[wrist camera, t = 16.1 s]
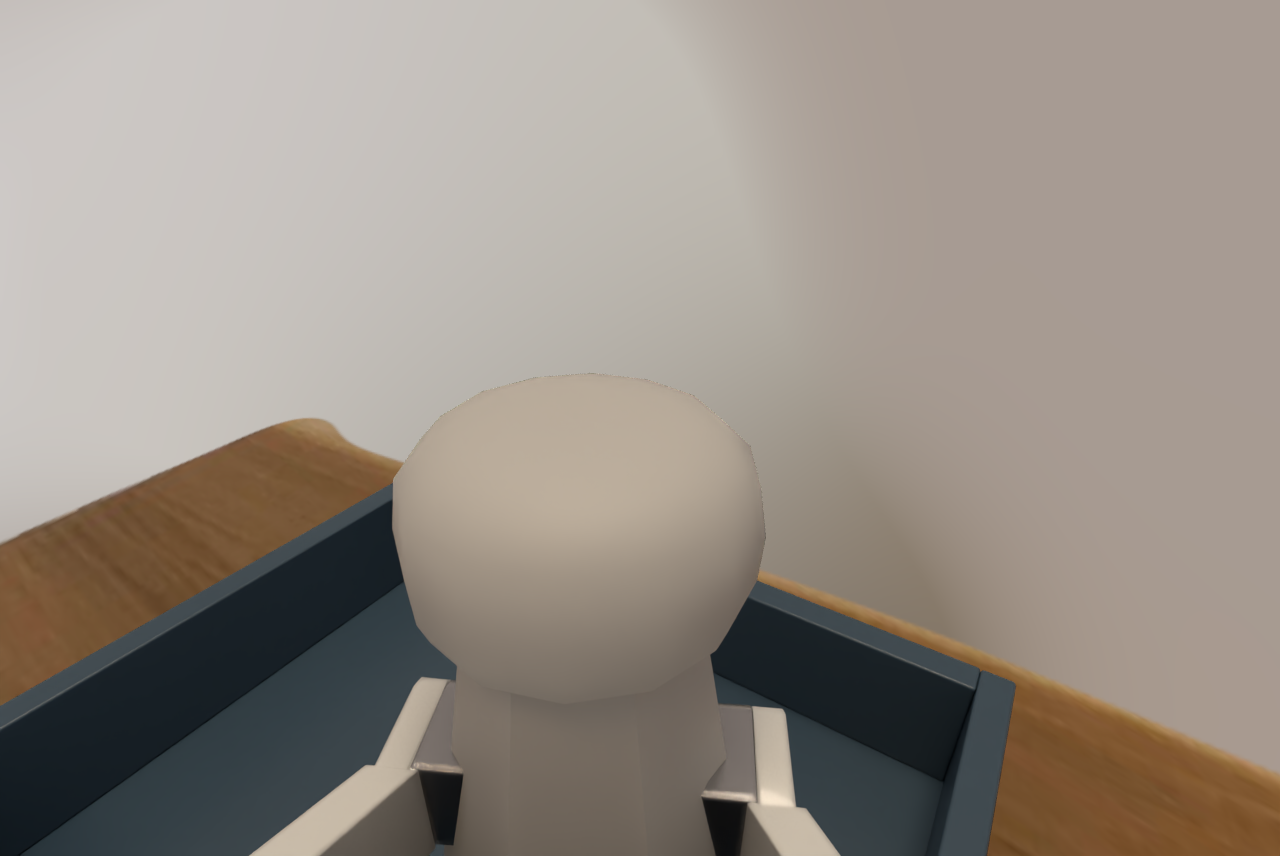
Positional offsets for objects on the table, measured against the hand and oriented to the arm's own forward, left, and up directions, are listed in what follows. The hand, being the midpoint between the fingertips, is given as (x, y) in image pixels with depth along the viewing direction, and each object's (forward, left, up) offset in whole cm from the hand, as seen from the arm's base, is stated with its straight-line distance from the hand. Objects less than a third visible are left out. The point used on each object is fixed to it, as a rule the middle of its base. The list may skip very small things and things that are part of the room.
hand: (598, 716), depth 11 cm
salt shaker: (0, +1, -7) cm, 7 cm away
